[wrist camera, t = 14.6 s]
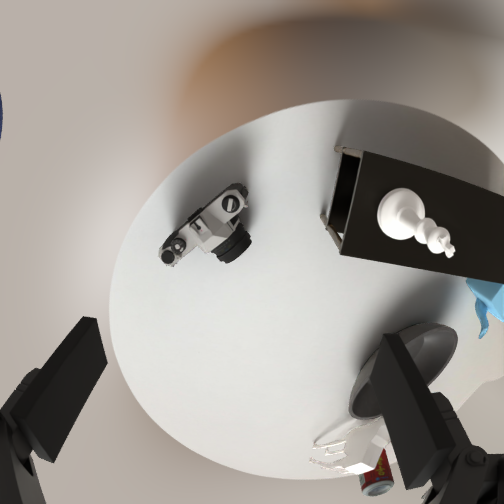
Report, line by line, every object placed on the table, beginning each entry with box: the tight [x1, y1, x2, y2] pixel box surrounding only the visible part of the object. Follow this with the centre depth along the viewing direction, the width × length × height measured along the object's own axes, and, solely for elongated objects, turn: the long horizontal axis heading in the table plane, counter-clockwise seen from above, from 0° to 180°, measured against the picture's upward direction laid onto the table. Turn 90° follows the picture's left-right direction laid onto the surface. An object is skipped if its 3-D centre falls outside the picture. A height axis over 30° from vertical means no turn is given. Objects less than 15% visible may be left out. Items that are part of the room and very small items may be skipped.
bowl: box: [349, 323, 458, 420], centre depth 47 cm, size 12×22×6 cm, turn 143°
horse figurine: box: [309, 416, 390, 475], centre depth 53 cm, size 5×16×25 cm
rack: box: [320, 146, 504, 284], centre depth 35 cm, size 26×10×13 cm, turn 81°
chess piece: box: [377, 188, 455, 258], centre depth 24 cm, size 5×5×10 cm
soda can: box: [359, 448, 394, 496], centre depth 54 cm, size 7×7×12 cm
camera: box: [158, 183, 252, 267], centre depth 40 cm, size 13×8×9 cm, turn 132°
